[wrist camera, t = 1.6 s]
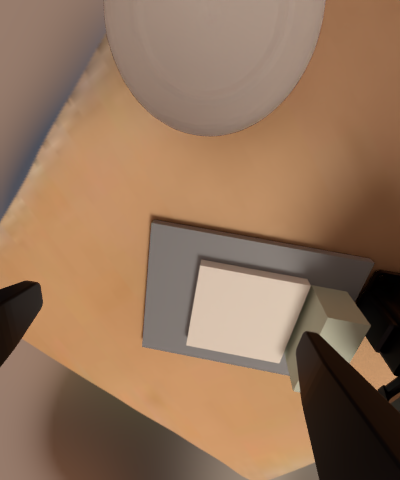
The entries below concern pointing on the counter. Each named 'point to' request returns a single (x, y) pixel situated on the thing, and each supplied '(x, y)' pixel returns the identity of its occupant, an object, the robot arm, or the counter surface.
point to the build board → (249, 298)
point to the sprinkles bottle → (212, 57)
